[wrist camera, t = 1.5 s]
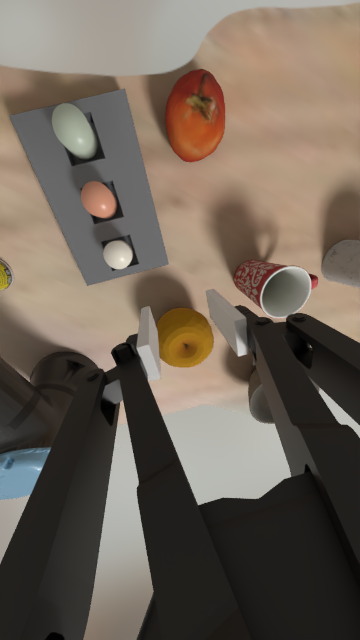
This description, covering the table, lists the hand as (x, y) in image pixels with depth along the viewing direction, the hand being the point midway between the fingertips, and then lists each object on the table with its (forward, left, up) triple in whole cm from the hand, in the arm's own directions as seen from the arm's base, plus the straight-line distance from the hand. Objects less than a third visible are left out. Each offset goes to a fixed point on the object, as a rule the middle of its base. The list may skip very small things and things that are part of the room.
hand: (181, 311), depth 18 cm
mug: (+20, -7, -25) cm, 33 cm away
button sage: (-7, +21, -22) cm, 31 cm away
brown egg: (-7, +13, -22) cm, 26 cm away
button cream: (-7, +5, -22) cm, 23 cm away
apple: (0, -14, -25) cm, 29 cm away
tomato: (+10, +20, -25) cm, 34 cm away
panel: (-7, +13, -25) cm, 29 cm away
